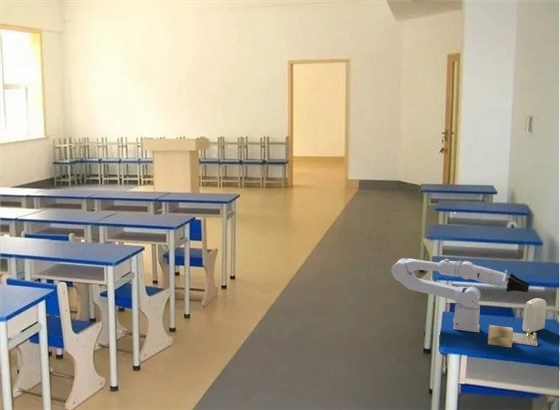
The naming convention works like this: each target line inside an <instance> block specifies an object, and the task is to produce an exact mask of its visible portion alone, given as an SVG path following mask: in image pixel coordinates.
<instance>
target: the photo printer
mask: <svg viewBox="0 0 560 410" xmlns="http://www.w3.org/2000/svg"><path fill="white" fill-rule="evenodd" d="M547 306H548V303H547V302H546V300H545V299H544V298H543V299H542V298H540V297H539V298H537V297H535V298H533V299H530V300H529V301H527V302H526V303H524V308H523V317H522V327H521V329H522V330H523V332H525V333H527V331H528V329H531V330H530V333H535V332H537V331H539V330H544V329H545V326H546V315H547Z"/></svg>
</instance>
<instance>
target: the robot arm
mask: <svg viewBox="0 0 560 410" xmlns="http://www.w3.org/2000/svg"><path fill="white" fill-rule="evenodd" d="M418 270H419V271H431V272H438V273H439V274H440V275H443V276H450V277H460V278H462V279H463V280H473V281H477V282H480V283H483V284H487V285H490V286H494V287H498V288H500V289H504V287H505V288H506V290H505V292H507V293H508V292H520V293H521V292H523V293H528V292H529V288H530V282H527V281H526V280H523V279H521V278H519V277H517V276H516V275H515V274H514V273H513V272H512V273H510V275H509V276H508V269H507V270H506V269H505V270H504V272H502V271H498V270H495V269H491V268H488V267H484V266H480V265H476V264H474V263H473V262H471V261H468V260H464V261H462V260H457V261H454V260H449V258H445V259H442V260H440V261H439V262H436V261H430V260H429V261H428V260H422V259H417V258H416V259H415V258H405V257H403V258H400V259H398V261H397V262H396V263H394V264H393V265H392V266H391V270H390V271H391V274H392V276H393V278H394V280H396V281H398V282H399V283H401V284H402V285H403V286H404V287H405V288H407V289H408V290H410V291H415V292H420V293H423V294H428V295H432V296H435V297H441V298H444V299H449V300H452V301H454V302H455V303H457V304H455V305H454V316H453V320H452V323H453V330H459V331H464V332H474V333H480V323H479V322H480V310H481V305H480V303H479V301H480V299H481V296H482V293H481V291H480V289H479V288H478V287H476V286H454V285H449V284H445V283H441V282H437V281H432V280H427V279H422V278H420V277H417V276H416V274H415V272H416V271H418Z"/></svg>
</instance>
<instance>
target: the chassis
mask: <svg viewBox="0 0 560 410" xmlns="http://www.w3.org/2000/svg"><path fill="white" fill-rule="evenodd" d="M530 330H531V329H528V331H527V332H526V333H521V332H514V331H513V338H512V344H518V345H525V346H526V345H527V346H533V347H538V345H539V343H538V340H537V332H532V333H533V334H531V332H530Z"/></svg>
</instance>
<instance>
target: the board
mask: <svg viewBox="0 0 560 410" xmlns="http://www.w3.org/2000/svg"><path fill="white" fill-rule="evenodd" d="M513 332H514V329H513V327H508V326H500V325H493V324H489V325H488V333H487V334H488V335H487V345H492V346H500V347H506V348H512V347H513V346H512V345H513V343H512V338H513Z"/></svg>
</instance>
